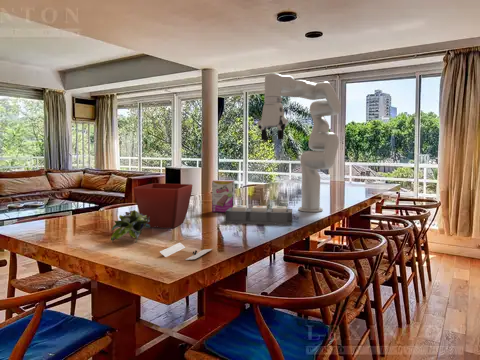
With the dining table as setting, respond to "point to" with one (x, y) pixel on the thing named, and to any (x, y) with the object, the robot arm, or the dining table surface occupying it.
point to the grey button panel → (259, 217)
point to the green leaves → (130, 225)
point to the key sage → (279, 209)
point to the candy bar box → (222, 195)
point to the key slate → (239, 208)
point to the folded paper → (179, 246)
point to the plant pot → (163, 203)
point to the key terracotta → (259, 208)
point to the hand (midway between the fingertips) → (272, 139)
